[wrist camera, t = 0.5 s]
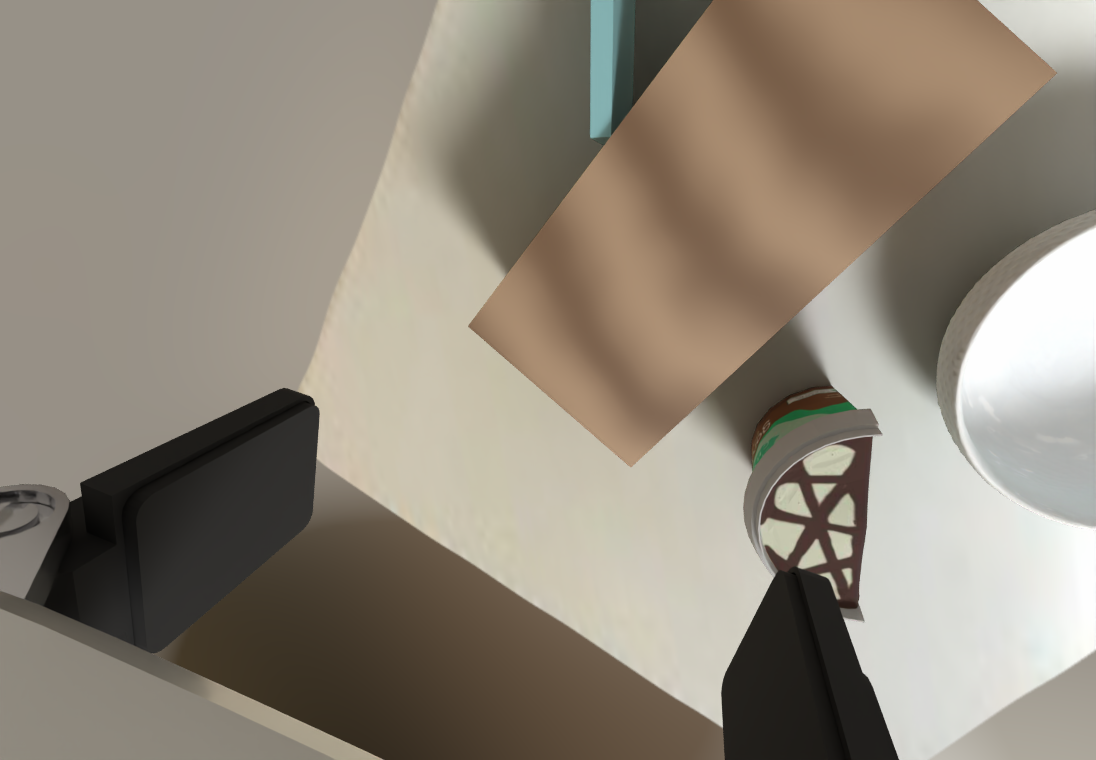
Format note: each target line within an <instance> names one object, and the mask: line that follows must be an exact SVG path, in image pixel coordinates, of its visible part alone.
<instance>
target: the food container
mask: <svg viewBox="0 0 1096 760" xmlns="http://www.w3.org/2000/svg"><path fill="white" fill-rule="evenodd" d="M878 426H879V424H878V422H877V420H876V418H875V416H874V414H873V412H872V411H871V409H859V410H857V409H856V408H855V407H854V406H853V405H852V404H851V403H850V402H849V401H848V400H847V399H845V398H844V397H843V396H842V395H841V394H840V393H839V392H838V391H837V390H836V389H835V388H833V387H832V386H824V387H813V388H810V389H807V390H804V391H801V392H798V393H795V394H792V395H789V396H787V397H786V398H785V399H783V400H782V401H780V402H779V403H777V404H776V405H774V406H773V407H771V408H770V409H769V410H768V412H767V413H766V414H765V416H764V417H763V418H762V419H761V421H760V422H759V423H758V424H757V427H756V430H755V432H754V435H753V438H752V445H751V455H752V471H753V472H752V474H751V476H750V478H749V481H748V484H747V488H746V491H745V496H744V506H743V510H744V521H745V525H746V529H747V532H748V536H749V538H750V540H751V542H752V544H753V546H754V548H755V550H756V552H757V554H758V555H759V557H760V559H761V561H762V562H763V564H764V565H765V567H766V568H767V569H768V571H769V572H770V574H771V575H772V576H773V577H775V575H776V573H777V572H778V571H780V570H782V571H785V572H788V571H789V569H790V568H792V567H794V566H796V567H798V568H801V569H804V570H807V571H810V572H813V573H816V574H818V575H821V576H824V577H826V578H828V579H829V580H830V582H831V585H832V587H833V590H834V593H835V596H836V599H837V602H838V604H839V607H840V610H841V613H842V616H843V619H847V620H852V621H859V622H865V621H864V618H863V615H862V612H861V609H860V607H859V604H858V600H859V581H860V572H861V563H862V555H863V548H864V542H865V535H866V529H867V504H868V487H869V474H870V462H871V451H872V439H873V436H882V433H881V431H880V430H879V429H878Z"/></svg>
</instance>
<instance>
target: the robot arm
mask: <svg viewBox="0 0 1096 760" xmlns="http://www.w3.org/2000/svg"><path fill="white" fill-rule="evenodd" d="M319 415H320V414H319V409H318V407H317V406H315V403H314V400H313V398H311V397H310V396H307V395H305V394H302V393H299V392H296V391H293V390H290V389H286V388H283V389H279V390H277V391H275V392H273V393H271V394H268V395H266V396H264V397H262V398H260V399H258V400H256V401H254V402H252V403H249V404H247V405H245V406H243V407H241V408H239V409H237V410H234V411H232V412H230V413H228V414H226V415H224V416H222V417H220V418H218V419H215V420H213V421H211V422H209V423H207V424H205V425H203V426H200V427H198V428H196V429H194V430H192V431H190V432H188V433H185V434H183V435H181V436H179V437H177V438H175V439H173V440H171V441H169V442H166V443H164V444H162V445H160V446H158V447H156V448H154V449H151V450H149V451H147V452H145V453H143V454H141V455H139V456H137V457H134V458H132V459H130V460H128V461H126V462H124V463H122V464H120V465H117V466H115V467H113V468H111V469H109V470H107V471H105V472H103V473H100V474H98V475H96V476H94V477H92V478H90V479H87V480H85V481H83V482H81V483H80V486H81V493H82V497H79V498H78V499H75V500H74V501H71V502H70V500H69V499H68V497H67V495H66V494H65V493H64V492H62V491H60V490H59V489H57V488H55V487H50V486H45V485H36V484H32V485H31V484H20V485H11V486H3V487H0V760H383V759H381V758H379V757H377V756H374V755H372V754H370V753H368V752H366V751H363V750H361V749H359V748H357V747H355V746H353V745H351V744H348V743H346V742H344V741H342V740H340V739H338V738H335V737H333V736H331V735H329V734H327V733H324V732H322V731H320V730H318V729H316V728H313V727H311V726H309V725H307V724H305V723H303V722H301V721H298V720H296V719H294V718H291V717H290V716H287V715H285V714H283V713H281V712H279V711H277V710H274V709H272V708H270V707H268V706H266V705H264V704H261V703H259V702H257V701H255V700H253V699H250V698H248V697H246V696H243V695H242V694H239V693H237V692H235V691H233V690H231V689H228V688H226V687H224V686H222V685H220V684H217V683H215V682H213V681H211V680H209V679H206V678H204V677H202V676H200V675H197V674H195V673H193V672H191V671H189V670H186V669H184V668H182V667H180V666H178V665H175V664H173V663H171V662H169V661H167V660H164V659H162V658H160V657H158V656H156V655H153V654H151V653H157V652H159V651H161V650H162V649H164V648H165V647H166V646H168V645H169V644H170V643H171V642H172V641H173V640H174V639H176V638H177V637H178V636H179V635H180V634H181V633H183V632H184V631H185V630H186V629H187V628H189V627H190V626H191V625H192V624H193V623H194V622H196V621H197V620H198V619H199V618H200V617H201V616H203V615H204V614H205V613H206V612H207V611H208V610H210V609H211V608H212V607H213V606H214V605H215V604H217V603H218V602H219V601H220V600H221V599H222V598H224V597H225V596H226V595H227V594H228V593H230V592H231V591H232V590H233V589H234V588H235V587H237V586H238V585H239V584H240V583H241V582H242V581H244V580H245V579H246V578H247V577H248V576H249V575H250V574H252V573H253V572H254V571H255V570H256V569H257V568H259V567H260V566H261V565H262V564H263V563H265V562H266V561H267V560H268V559H269V558H270V557H271V556H272V555H274V554H275V553H276V552H277V551H279V549H281V548H282V547H283V546H284V545H286V544H287V543H288V542H289V541H290V540H291V539H293V538H294V537H295V536H296V535H297V534H298V533H300V532H301V531H302V530H303V529H304V528H305V527H306V525H307V524H308V523H309V521H310V519H311V516H312V512H313V499H314V485H315V471H316V457H317V443H318V429H319ZM721 697H722V716H723V733H724V734H723V735H724V753H725V760H899V759H898V756H897V753H896V750H895V748H894V745H893V742H892V739H891V737H890V734H889V731H888V728H887V725H886V723H885V720H884V717H883V714H882V712H881V709H880V706H879V703H878V701H877V698H876V695H875V692H874V689H873V687H872V685H871V683H870V681H869V679H868V677H867V676H866V675H865V674H863V673H862V670H861V667H860V664H859V662H858V659H857V656H856V653H855V650H854V647H853V644H852V642H851V639H850V636H849V633H848V630H847V627H846V624H845V622H844V619H843V616H842V613H841V610H840V607H839V604H838V602H837V599H836V596H835V593H834V590H833V587H832V585H831V582H830V580H829V579H828V578H826V577H824V576H821V575H818V574H816V573H813V572H810V571H807V570H804V569H801V568H798V567H796V566H794V567H792V568H790V569H789V571H788V572H785V571H782V570H780V571H778V572H777V573H776V575H775V577H774V579H773V581H772V582H771V584H770V586H769V588H768V590H767V592H766V594H765V596H764V598H763V600H762V602H761V604H760V606H759V608H758V610H757V612H756V614H755V616H754V618H753V620H752V622H751V624H750V626H749V628H748V630H747V632H746V634H745V636H744V638H743V640H742V641H741V643H740V645H739V647H738V649H737V651H736V653H735V655H734V657H733V659H732V661H731V663H730V665H729V667H728V669H727V671H726V673H725V676H724V679H723V684H722V691H721Z"/></svg>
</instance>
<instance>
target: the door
mask: <svg viewBox="0 0 1096 760" xmlns="http://www.w3.org/2000/svg"><path fill="white" fill-rule="evenodd" d="M634 33H635V0H591V64H590V138H591V139H593V140H595V141H597V142H598V143H600V144H602V145H603V146H604V145H605V143H606V142H607V141H608V139H609V138H610V137H611V135H612V134H613V133H614V131H615V130H616V129H617V127H618V126H619V125H620V123H621V122H622V121H623V119H624V118H625V117H626V115H627V114H628V113H629V111H630V110H631V109H632V105H633V69H634Z"/></svg>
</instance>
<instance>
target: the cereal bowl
mask: <svg viewBox="0 0 1096 760" xmlns="http://www.w3.org/2000/svg"><path fill="white" fill-rule="evenodd" d="M936 376H937V378H936V383H937V388H936V390H937V397H938V404H939V406H940V409H941V413H942V416H943V419H944V421H945V424H946V427H947V429H948V431H949V433H950V434H951V436H952V439H953V441H954V443H955V444H956V445H957V446H958V448H959V450H960V452H961V453H962V454H963V455H964V456H965V458H966V459H967V461H968V462H969V463H970V464H971V466H972V467H973V468H974V469H975V470H976V472H977V473H978V474H979V475H980V476H981V477H982V478H983V479H984V480H985V481H986V482H987V483H988V484H989V485H991V486H992V487H993V488H994V489H996V490H997V491H998V492H999V493H1000V494H1002V495H1003V496H1005V497H1006V498H1008V499H1009V500H1011V501H1013V502H1014V503H1016V504H1018V505H1019V506H1021V507H1023V508H1025V509H1027V510H1029V511H1031V512H1033V513H1036V514H1038V515H1040V516H1042V517H1045V518H1048V519H1051V520H1053V521H1056V522H1059V523H1062V524H1066V525H1070V526H1074V527H1078V528H1083V529H1088V530H1096V210H1092V211H1088V212H1086V213H1084V214H1082V215H1080V216H1077V217H1073V218H1071V219H1069V220H1065V221H1064V222H1062V223H1061V224H1058V225H1055V226H1053V227H1051V228H1050V229H1048V230H1046V231H1044V232H1042V233H1041V234H1039V235H1037V236H1035V237H1033V238H1030V239H1029V240H1028V241H1026V242H1025V243H1024V244H1022V245H1021V246H1019V247H1017V248H1016V249H1015V250H1014V251H1012V252H1010V253H1009V254H1008V255H1007V256H1006V257H1005V258H1003V259H1002V260H1000V261H999V262H998V263H997V264H996V265H995V266H993V267H992V268H991V269H990V270H989V271H988V272H987V273H986V274H985V275H983V276H982V278H981V279H980V280H979V281H978V282H977V283H976V284H975V286H974V287H973V288H972V290H970V291H969V292H968V293H967V295H966V297H965V298H964V299H963V300H962V303H961V305H960V306H959V307H958V308H957V309H956V312H955V314H954V316H953V317H952V318H951V320H950V324H949V325H948V327H947V330H946V333H945V334H944V338H943V340H942V345H941V348H940V353H939V359H938V363H937V374H936Z"/></svg>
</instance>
